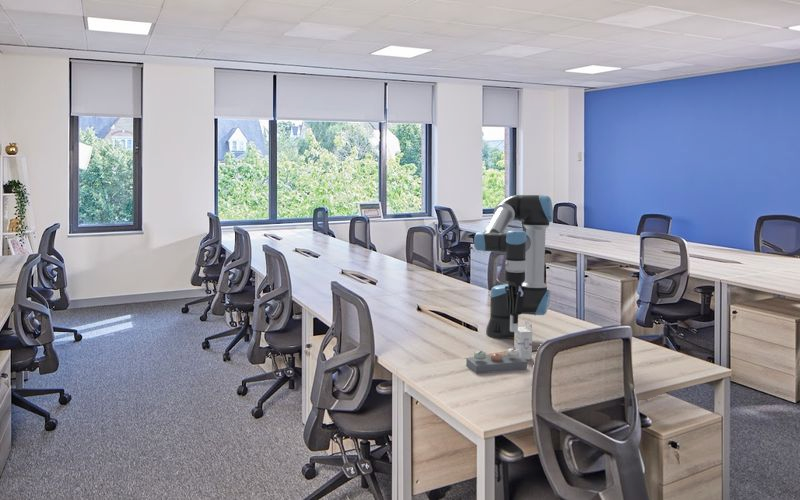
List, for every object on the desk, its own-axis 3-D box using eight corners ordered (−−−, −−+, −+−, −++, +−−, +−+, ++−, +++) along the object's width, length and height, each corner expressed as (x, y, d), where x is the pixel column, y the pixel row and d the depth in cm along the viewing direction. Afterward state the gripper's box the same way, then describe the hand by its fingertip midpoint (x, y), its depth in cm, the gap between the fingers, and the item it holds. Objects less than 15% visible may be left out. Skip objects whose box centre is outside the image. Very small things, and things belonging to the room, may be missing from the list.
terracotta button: (499, 357, 248) (499, 352, 248) (504, 360, 244) (504, 355, 243) (489, 358, 247) (489, 352, 247) (493, 361, 243) (493, 356, 242)
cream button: (515, 353, 250) (516, 347, 249) (520, 356, 245) (521, 350, 245) (505, 353, 248) (505, 348, 248) (510, 357, 244) (510, 351, 244)
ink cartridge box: (513, 354, 263) (514, 319, 261) (524, 353, 264) (525, 319, 262) (520, 360, 255) (521, 324, 253) (532, 359, 256) (533, 324, 254)
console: (515, 361, 253) (515, 354, 253) (527, 368, 244) (527, 361, 243) (466, 365, 248) (466, 358, 247) (476, 373, 238) (476, 365, 238)
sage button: (482, 355, 246) (483, 350, 246) (487, 359, 242) (487, 353, 242) (472, 356, 245) (472, 351, 245) (476, 359, 241) (476, 354, 240)
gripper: (499, 268, 248) (497, 327, 251) (513, 273, 236) (512, 335, 238) (516, 268, 250) (515, 326, 253) (532, 273, 238) (530, 334, 240)
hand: (513, 331), depth 246 cm, fingers closed
